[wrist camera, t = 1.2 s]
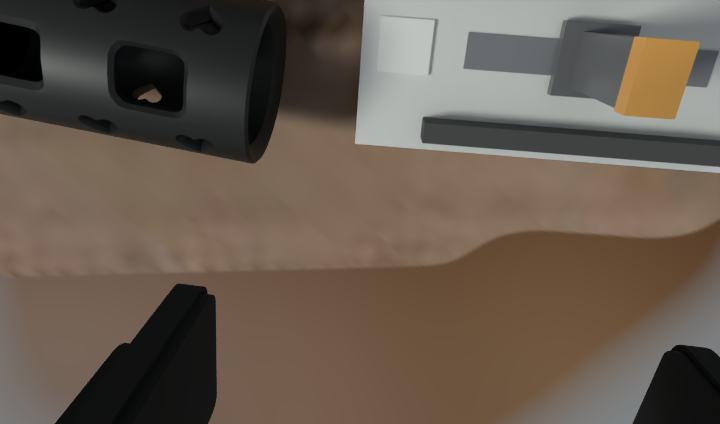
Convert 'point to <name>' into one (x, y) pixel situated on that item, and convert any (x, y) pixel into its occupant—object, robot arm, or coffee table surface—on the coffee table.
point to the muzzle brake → (148, 70)
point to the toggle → (622, 68)
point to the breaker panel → (518, 70)
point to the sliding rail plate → (570, 141)
